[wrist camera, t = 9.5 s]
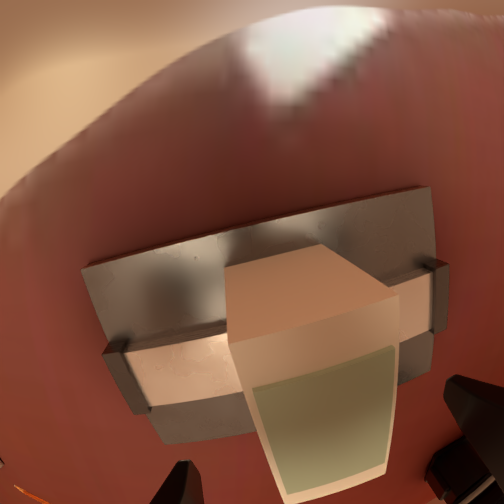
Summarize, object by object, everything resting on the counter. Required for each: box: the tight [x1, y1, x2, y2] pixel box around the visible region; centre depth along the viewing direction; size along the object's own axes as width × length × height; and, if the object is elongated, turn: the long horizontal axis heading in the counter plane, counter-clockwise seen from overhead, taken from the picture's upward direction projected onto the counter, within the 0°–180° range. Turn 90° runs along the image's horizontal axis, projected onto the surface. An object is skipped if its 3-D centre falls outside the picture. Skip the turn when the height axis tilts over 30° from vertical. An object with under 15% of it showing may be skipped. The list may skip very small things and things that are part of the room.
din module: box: [224, 244, 399, 504], centre depth 11 cm, size 4×9×7 cm, turn 13°
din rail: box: [81, 186, 449, 445], centre depth 14 cm, size 18×12×2 cm, turn 103°
